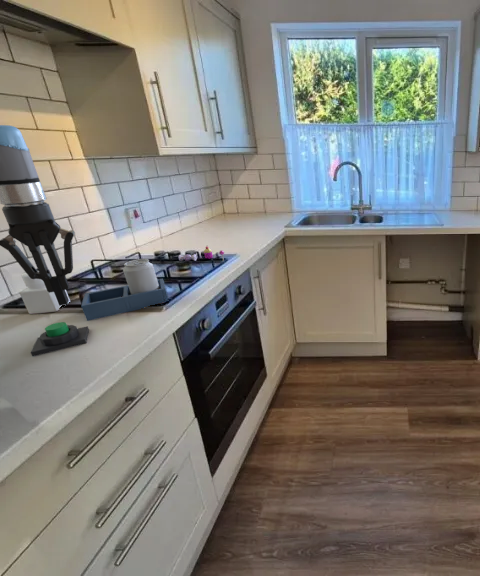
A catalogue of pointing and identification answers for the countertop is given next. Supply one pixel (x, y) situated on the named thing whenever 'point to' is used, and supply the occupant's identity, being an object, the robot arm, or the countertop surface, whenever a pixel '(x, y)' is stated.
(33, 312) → the medicine bottle
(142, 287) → the can
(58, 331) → the button
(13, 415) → the countertop surface
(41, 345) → the control block
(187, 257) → the set of multicoloured pieces
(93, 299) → the rack
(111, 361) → the countertop surface
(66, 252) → the robot arm
